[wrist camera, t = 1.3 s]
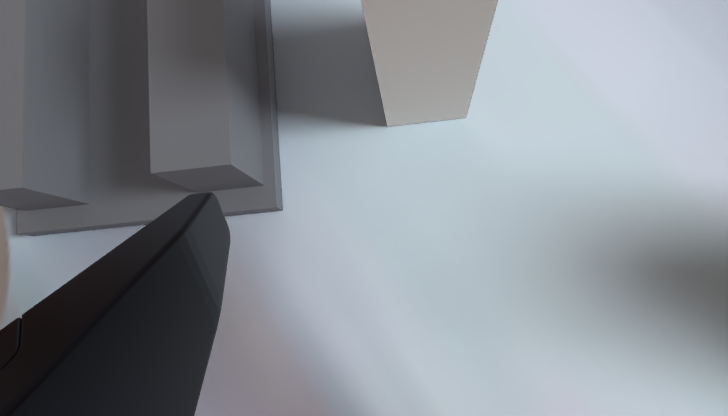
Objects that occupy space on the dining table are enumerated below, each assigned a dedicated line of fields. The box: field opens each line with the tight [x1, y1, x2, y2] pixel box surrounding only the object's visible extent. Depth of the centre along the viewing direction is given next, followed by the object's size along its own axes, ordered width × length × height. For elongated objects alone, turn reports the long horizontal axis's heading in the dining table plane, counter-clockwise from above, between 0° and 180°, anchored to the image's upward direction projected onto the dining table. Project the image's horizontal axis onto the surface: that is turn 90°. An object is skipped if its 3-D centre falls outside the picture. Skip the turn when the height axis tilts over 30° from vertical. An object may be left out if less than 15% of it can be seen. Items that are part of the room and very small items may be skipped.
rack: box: [0, 0, 283, 236], centre depth 22 cm, size 14×12×5 cm
